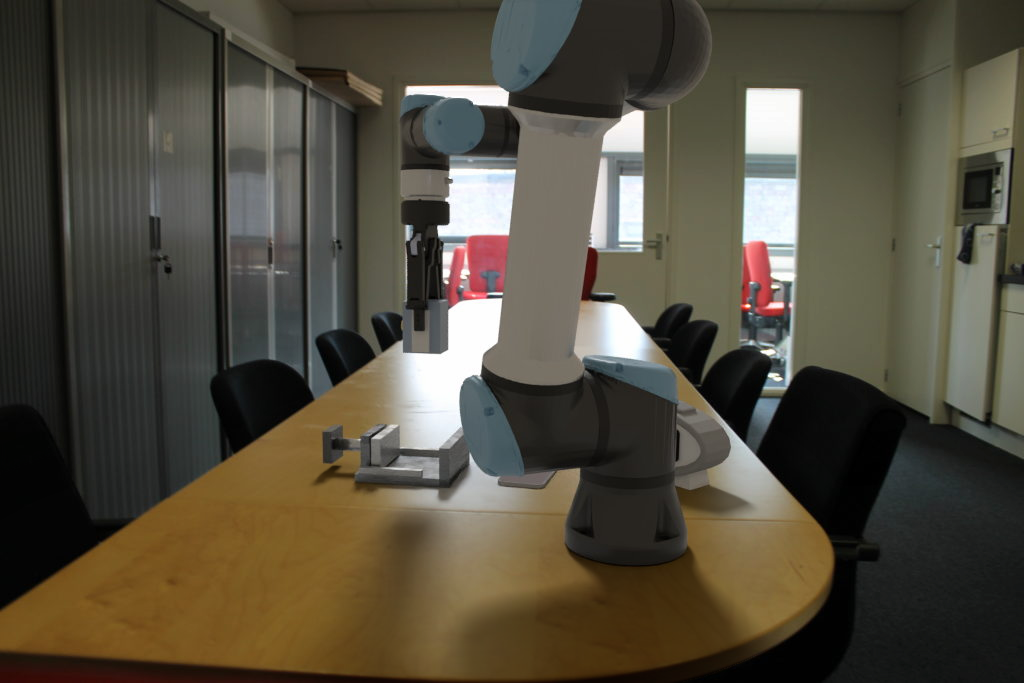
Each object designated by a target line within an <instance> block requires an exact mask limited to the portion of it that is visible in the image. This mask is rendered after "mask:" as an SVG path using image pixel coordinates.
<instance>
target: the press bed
mask: <svg viewBox="0 0 1024 683" xmlns="http://www.w3.org/2000/svg"><path fill="white" fill-rule="evenodd" d="M387 425H388V424H387V423H377V424H375V425H374V426H372V427H370V429H368V430H366V431H365V432H363V433H362V434H360V436H359V439H360V465H359V466H358V468H357V470H358V471H357V472H355V473H354V482H355V483H369V484H370V483H371V484H385V485H386V484H389V485H403V486H405V485H407V486H419V487H420V486H421V487H437V488H451V486H452V485H453V483H455V481H456V480H457V479H458V478H459V476H460V475H461V474H462V472H463V471H464V470H465V469H466V468H467V467H468V465H469V464H470V458H471V457H470V456H471V454H470V451H469V449H468V446H467V443H466V440H465V437H464V433H463V429H462V426H461V427H459V428H458V429H457V430H456V431H455V432H454V433H453V434H452V435H451V436H450V437H449V438H448V439H447V440H446V441H445V442H444V443H443V444H442V445H440V446H439V448H432V447H411V446H400V454H399V455H398V456H397V457H396V458H395V459H394V460H392V461H391V462H390V463H389V464H388V465H387V466H385V467H374V466H371V438H373V437H374V436H375V435H377V434H378V433H380V432H381V431H382V430H384V429H385V428H387V427H388V426H387Z"/></svg>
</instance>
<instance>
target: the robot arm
mask: <svg viewBox="0 0 1024 683" xmlns="http://www.w3.org/2000/svg"><path fill="white" fill-rule="evenodd" d="M492 32H493V33H492V38H491V46H490V47H491V48H490V61H491V63H492V66H491V73H492V76H493V79H494V81H495V83H496V84H497V85H498V86H499V88H501V89H503V90H504V91H506V92H508V98H507V104H496V103H485V102H483V103H482V102H475V101H474V102H473V101H472V100H470V99H469V98H466V97H463V96H452V97H451V96H449V97H445V96H443V95H439V94H435V93H414V94H408V95H405V96H404V97H403V98H402V99H401V101H400V111H399V112H400V113H399V114H400V115H399V117H398V118H399V119H398V122H399V134H400V137H399V138H400V143H399V144H400V177H399V178H400V189H399V190H400V196H401V197H402V198H404V200H402V201H401V203H400V223H401V224H402V225H403V226H412V232H411V233H412V234H411V237H410V238H409V240H406V241H405V243H404V244H405V246H404V247H405V251H406V300H407V305H406V310H412V352H430V310H427V309H428V299H437V300H444V280H443V279H444V276H443V275H444V266H443V265H444V263H443V262H444V255H443V254H444V245H445V242H444V240H443V239H441V238H440V237H439V229H438V226H441V227H443V226H449V224H450V223H451V221H450V220H451V219H450V218H451V210H450V209H451V203H450V202H449V201H446V199H448V198H450V185H451V184H453V183H454V179H453V177H451V176H450V171H451V170H450V169H451V167H450V166H451V165H450V164H451V163H450V162H451V157H450V156H456V157H458V156H459V157H476V158H477V157H479V158H498V159H499V158H501V159H503V158H504V159H516V167H515V174H514V185H513V194H512V204H511V213H510V220H509V221H510V223H509V232H508V242H507V250H506V260H505V261H506V262H505V268H504V269H505V271H504V276H503V278H504V279H503V288H502V297H501V305H500V306H501V307H500V316H499V317H500V318H499V326H498V334H497V335H498V337H497V342H496V343H495V344H493V346H491V347H489V348H488V349H487V350H485V352H484V353H483V355H482V358H481V359H482V360H481V369H480V375H478V374H472V375H471V376H468V377H467V378H465V379H464V380H463V381H462V384H461V386H460V388H459V389H460V390H459V399H458V402H459V404H458V405H459V406H458V407H459V414H460V415H459V416H460V423H461V427H462V429H463V433H464V437H465V440H466V443H467V446H468V449H469V451H470V456H471V457H472V460H473V461H474V463H475V465H476V466H477V467H478V469H479V470H480V471H481V472H483V473H484V474H485V475H487V476H489V477H494V478H495V477H496V478H499V477H502V476H517V477H523V475H527V474H535V473H543V472H552V471H556V472H558V471H567V470H577V469H579V482H578V484H577V487H576V489H575V493H574V495H573V499H572V501H571V505H570V507H569V510H568V513H567V515H566V518H565V522H564V543H565V545H566V546H567V548H568V549H570V550H571V552H574V553H575V554H577V555H579V556H582V557H583V558H586V559H590V560H593V561H595V562H600V563H606V564H613V565H623V566H649V565H657V564H662V563H663V564H664V563H666V562H670V561H673V560H675V559H678V558H680V557H681V556H682V555H684V554H685V552H686V551H687V549H688V527H687V523H686V520H685V517H684V513H683V510H682V507H681V506H682V505H681V502H680V499H679V496H678V491H677V489H676V486H675V460H676V431H677V406H678V405H679V401H678V399H679V390H678V389H679V387H678V378H677V375H676V373H675V371H674V370H673V369H671V367H668V366H667V365H664V364H660V363H656V362H652V361H648V360H647V361H646V360H642V359H636V358H628V357H620V356H613V355H612V356H611V355H602V354H601V355H600V354H591V355H590V354H589V355H584V356H583V357H582V360H581V359H580V357H579V356H578V355H577V354H576V353H575V345H576V338H577V337H576V336H577V330H578V325H579V324H578V323H579V317H580V309H581V302H582V296H583V295H582V294H583V289H584V288H583V287H584V281H585V273H586V265H587V260H588V252H589V246H590V238H591V230H592V223H593V215H594V208H595V203H596V195H597V188H598V180H599V174H600V172H599V171H600V166H601V159H602V152H603V151H602V150H603V144H604V136H605V135H606V133H607V132H608V131H610V130H612V128H613V127H615V126H617V124H618V123H621V121H622V117H624V116H626V115H629V114H630V113H632V112H635V111H641V112H654V111H658V110H661V109H662V108H664V107H667V106H669V105H672V104H673V103H676V102H677V101H679V100H681V99H683V98H684V97H685V96H687V95H689V93H691V92H692V91H693V90H694V89H695V88H696V87H697V86H698V84H700V82H701V80H702V79H703V77H704V76H705V74H706V72H707V70H708V68H709V64H710V60H711V56H712V50H713V35H712V31H711V25H710V23H709V20H708V17H707V15H706V13H705V12H704V9H703V8H702V6H701V5H700V4H699V3H698V2H697V0H502V2H501V4H500V7H499V10H498V13H497V17H496V20H495V23H494V27H493V31H492Z"/></svg>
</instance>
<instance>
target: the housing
mask: <svg viewBox="0 0 1024 683" xmlns="http://www.w3.org/2000/svg"><path fill="white" fill-rule="evenodd" d="M406 305H407V299H406V300H402V320H401V322H400V323H401V324H400V329H401V331H402V353H403V354H423V355H425V354H429V355H441V354H443V353H445V352H447V351H449V299H443V300H437V299H428V309H427V310H430V352H412V310H406Z"/></svg>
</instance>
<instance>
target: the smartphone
mask: <svg viewBox="0 0 1024 683" xmlns="http://www.w3.org/2000/svg"><path fill="white" fill-rule="evenodd" d="M555 473H557V471H552V472H543V473H535V474H527V475H523V477H517V476H502V477H497V484H498V485H500V486H505V487H519V488H528V489H542V488H545V487H546V485H547V484H548V483H549V481H550V480H551V479H552V477H553V476H554V475H555Z"/></svg>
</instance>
